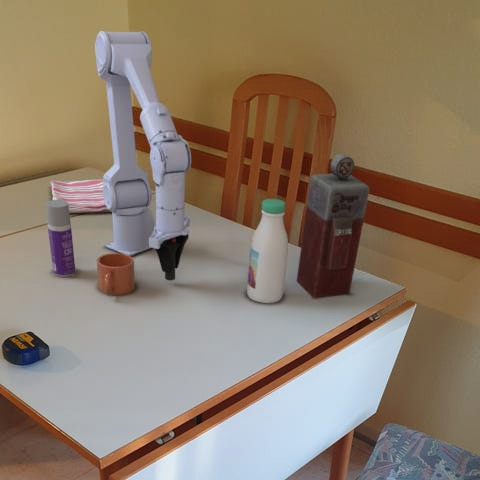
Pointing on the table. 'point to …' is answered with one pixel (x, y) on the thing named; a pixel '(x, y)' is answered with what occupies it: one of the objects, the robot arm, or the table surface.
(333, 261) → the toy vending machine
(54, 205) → the container
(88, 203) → the dish towel
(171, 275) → the marker
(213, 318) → the table surface
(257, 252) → the milk bottle
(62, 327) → the table surface
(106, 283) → the orange coffee mug
